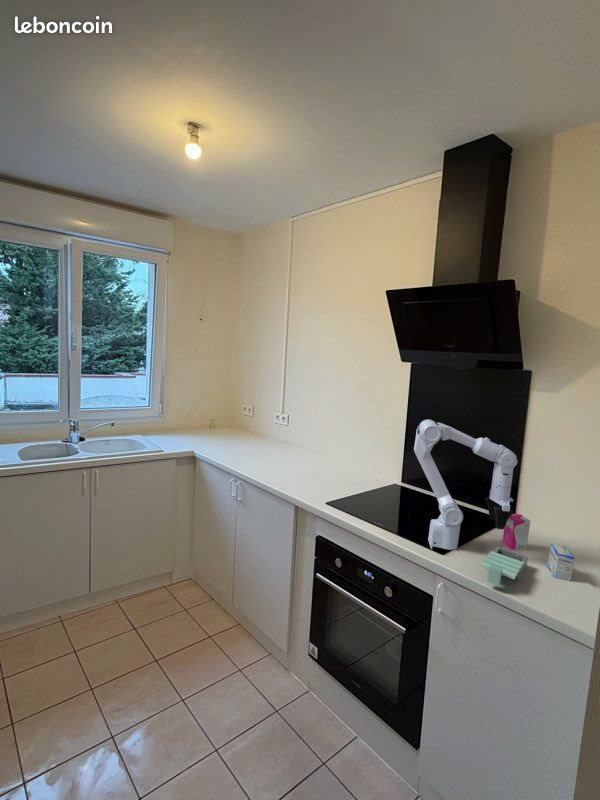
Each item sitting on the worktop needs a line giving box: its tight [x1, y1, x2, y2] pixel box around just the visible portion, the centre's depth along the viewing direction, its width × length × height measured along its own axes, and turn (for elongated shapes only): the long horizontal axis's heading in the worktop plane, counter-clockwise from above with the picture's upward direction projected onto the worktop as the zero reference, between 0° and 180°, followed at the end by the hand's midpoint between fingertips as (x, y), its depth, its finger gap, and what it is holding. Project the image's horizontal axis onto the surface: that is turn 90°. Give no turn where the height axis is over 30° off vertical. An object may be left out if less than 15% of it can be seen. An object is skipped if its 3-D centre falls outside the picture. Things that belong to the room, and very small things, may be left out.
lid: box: [479, 550, 524, 587], centre depth 120 cm, size 9×14×4 cm, turn 141°
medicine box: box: [546, 542, 575, 582], centre depth 127 cm, size 8×4×9 cm, turn 163°
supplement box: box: [501, 513, 531, 551], centre depth 144 cm, size 6×6×12 cm
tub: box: [485, 546, 529, 582], centre depth 128 cm, size 9×11×4 cm
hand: (496, 524), depth 137 cm, fingers open, 7 cm apart
